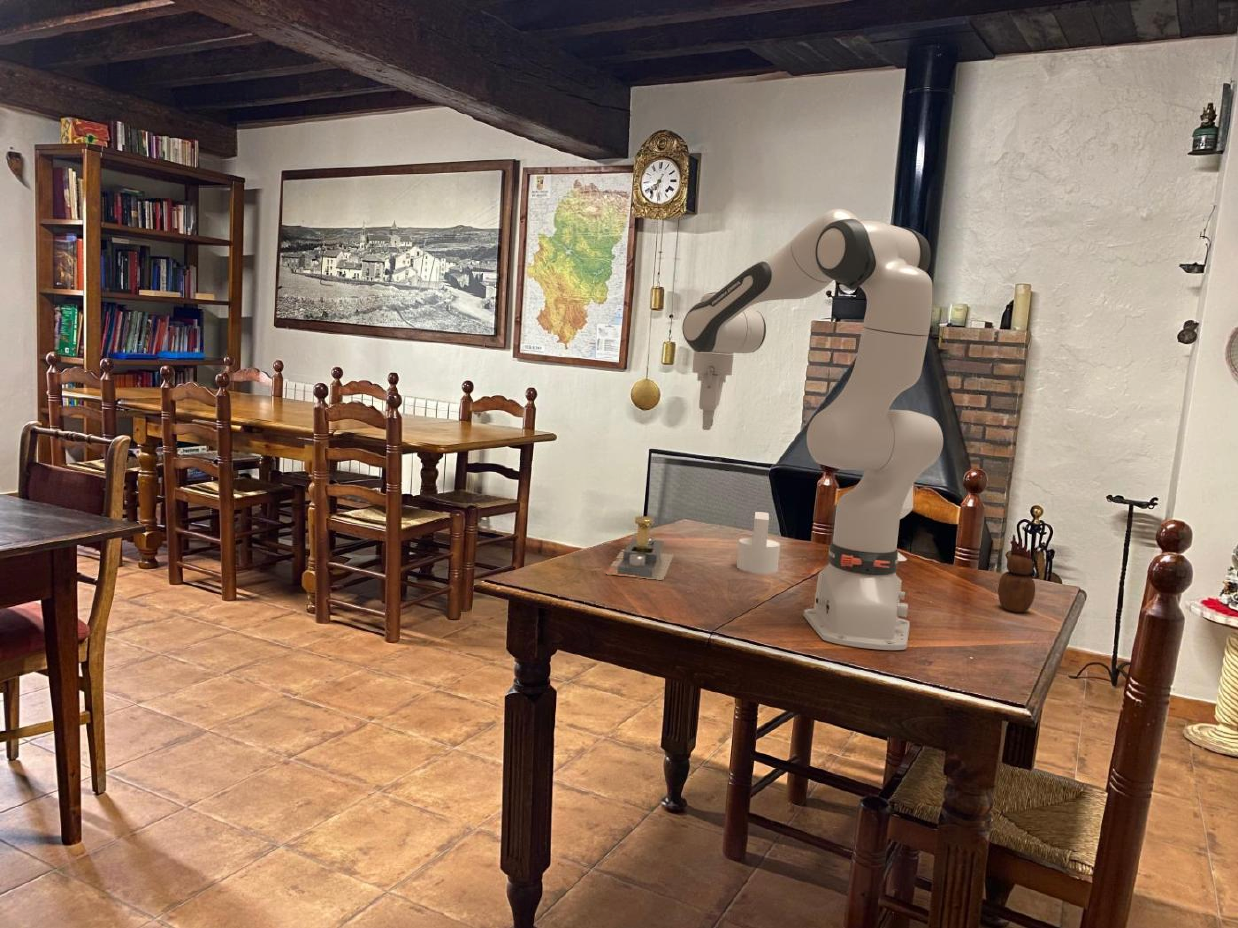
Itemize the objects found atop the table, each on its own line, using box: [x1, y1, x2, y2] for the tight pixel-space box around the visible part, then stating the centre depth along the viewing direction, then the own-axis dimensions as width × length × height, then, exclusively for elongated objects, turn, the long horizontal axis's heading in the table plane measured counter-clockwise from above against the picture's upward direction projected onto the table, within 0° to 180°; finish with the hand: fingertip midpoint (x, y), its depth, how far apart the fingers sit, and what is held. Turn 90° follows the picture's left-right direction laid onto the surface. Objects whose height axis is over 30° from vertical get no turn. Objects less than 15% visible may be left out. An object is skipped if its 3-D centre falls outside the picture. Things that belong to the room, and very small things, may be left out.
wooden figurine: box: [997, 534, 1036, 613], centre depth 178 cm, size 7×6×15 cm
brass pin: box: [634, 515, 655, 553], centre depth 195 cm, size 4×4×10 cm
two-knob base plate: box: [610, 536, 675, 581], centre depth 195 cm, size 23×12×4 cm, turn 171°
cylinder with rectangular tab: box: [736, 511, 781, 575], centre depth 199 cm, size 9×9×12 cm
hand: (707, 428), depth 202 cm, fingers open, 8 cm apart
